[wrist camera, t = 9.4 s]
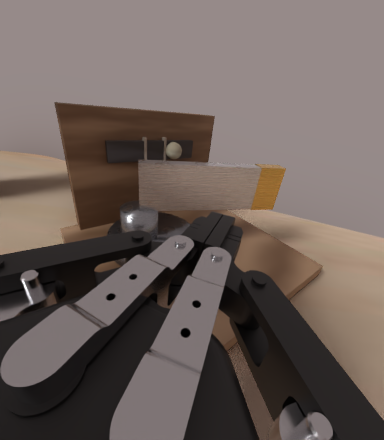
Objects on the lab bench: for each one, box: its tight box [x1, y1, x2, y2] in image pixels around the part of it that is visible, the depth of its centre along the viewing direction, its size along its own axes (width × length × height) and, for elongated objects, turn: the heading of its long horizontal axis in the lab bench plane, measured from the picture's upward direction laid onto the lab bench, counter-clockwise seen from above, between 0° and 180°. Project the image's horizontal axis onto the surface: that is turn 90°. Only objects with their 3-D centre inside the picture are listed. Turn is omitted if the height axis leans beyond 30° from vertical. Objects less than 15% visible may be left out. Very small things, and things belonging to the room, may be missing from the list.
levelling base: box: [55, 102, 323, 351], centre depth 22 cm, size 22×24×16 cm
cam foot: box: [107, 159, 286, 266], centre depth 24 cm, size 20×10×10 cm, turn 104°
